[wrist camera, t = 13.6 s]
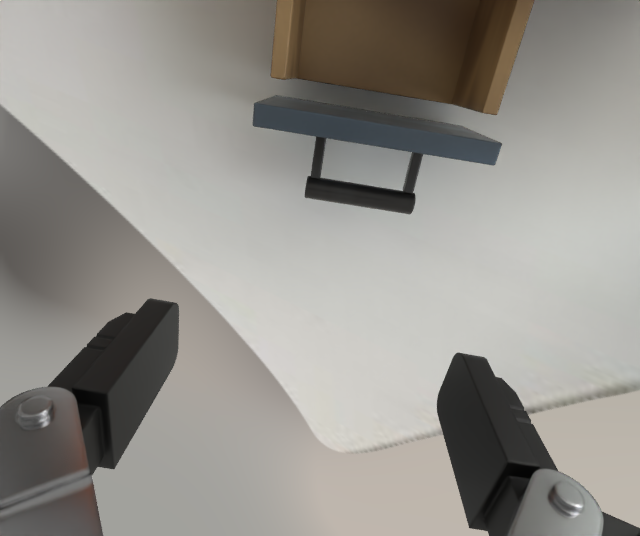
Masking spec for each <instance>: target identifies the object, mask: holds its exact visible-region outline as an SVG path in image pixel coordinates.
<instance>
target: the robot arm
mask: <svg viewBox="0 0 640 536" xmlns="http://www.w3.org/2000/svg"><path fill="white" fill-rule="evenodd" d="M178 334H179V306H178V304H177V303H174V302H167V301H162V300H156V299H148V300H147V301H146V302H145V303H144V304H143V306H142V307H141V308H140V309H139V310H138V311H137V312H136V314H132V313H124V314H122V315H121V316H119V317H117V318H115V319H113V320H111V321H109V322H108V323H107V324H106V325H105V326H104V327H103V328H102V330H100V332H99V333H98V334H97V336H96V337H94V338H93V339H92V340H91V341H90V342H89V343H88V344H87V347H84V349H82V350H81V352H80V353H79V354H78V355H77V356H76V357H75V358H74V359H73V360H72V361H71V362H70V363H69V364H68V365H67V367H66V368H64V370H63V371H62V372H61V373H60V374H59V375H58V376H57V377H56V378H55V379H54V380H53V381H52V382H51V383H50V384H49V385H48V387H41V388H36V389H32V390H29V391H26V392H23V393H21V394H19V395H17V396H15V397H13V398H11V399H10V400H8V401H7V402H6V403H4V404H3V405H2V406H1V407H0V536H103V533H102V527H101V522H100V517H99V511H98V506H97V502H96V496H95V490H94V485H93V480H92V474H93V473H94V471H95V470H96V468H97V467H103V468H110V469H115V467H116V465H117V463H118V462H119V460H120V458H121V456H122V455H123V453H124V451H125V449H126V448H127V446H128V444H129V442H130V441H131V439H132V437H133V436H134V434H135V432H136V430H137V429H138V427H139V425H140V424H141V422H142V420H143V418H144V417H145V415H146V413H147V411H148V410H149V408H150V406H151V405H152V403H153V401H154V399H155V398H156V396H157V394H158V392H159V391H160V389H161V387H162V386H163V384H164V382H165V380H166V379H167V377H168V375H169V373H170V372H171V370H172V368H173V366H174V363H175V360H176V357H177V353H178ZM437 413H438V417H439V421H440V424H441V428H442V431H443V435H444V439H445V442H446V446H447V449H448V453H449V456H450V460H451V464H452V467H453V471H454V474H455V478H456V481H457V485H458V489H459V492H460V496H461V499H462V503H463V506H464V510H465V514H466V518H467V521H468V525H469V528H472V529H479V530H485V531H488V533H489V536H640V528H638V527H636V526H633V525H631V524H629V523H627V522H624V521H622V520H620V519H617V518H615V517H613V516H611V515H608V514H606V513H604V512H602V511H601V509H600V507H599V505H598V503H597V502H596V500H595V499H594V498H593V496H592V495H591V494H590V493H589V492H588V491H587V490H586V489H585V488H584V487H583V486H582V485H581V484H580V483H578V482H577V481H576V480H574V479H573V478H571V477H569V476H567V475H566V474H564V473H561V472H559V471H558V470H557V468H556V466H555V464H554V462H553V460H552V459H551V457H550V455H549V453H548V451H547V449H546V448H545V446H544V444H543V442H542V440H541V438H540V436H539V435H538V433H537V431H536V429H535V427H534V425H533V424H531V420H530V418H529V416H528V414H527V412H526V411H524V407H523V405H522V403H521V401H520V400H519V398H518V396H517V394H516V392H515V391H514V390H513V389H512V388H511V387H510V386H509V385H508V384H507V383H506V382H505V381H504V380H503V379H502V378H498V377H495V375H494V373H493V371H492V369H491V367H490V365H489V363H488V361H487V359H486V358H484V357H480V356H474V355H468V354H463V353H456V354H455V355H454V357H453V359H452V361H451V364H450V366H449V369H448V371H447V374H446V376H445V379H444V381H443V384H442V386H441V389H440V391H439V394H438V399H437Z"/></svg>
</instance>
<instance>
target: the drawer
mask: <svg viewBox="0 0 640 536" xmlns="http://www.w3.org/2000/svg"><path fill="white" fill-rule="evenodd" d="M533 3H534V0H277V5H276V17H275V29H274V41H273V53H272V64H271V77H272V78H276V79H282V80H286V79H294V78H298V79H304V80H310V81H316V82H322V83H328V84H334V85H340V86H346V87H352V88H358V89H364V90H370V91H376V92H382V93H388V94H394V95H400V96H406V97H412V98H418V99H424V100H430V101H436V102H442V103H448V104H453V105H456V106H460V107H464V108H467V109H471V110H474V111H478V112H481V113H486V114H492V115H497V113H498V110H499V107H500V104H501V101H502V98H503V95H504V92H505V89H506V86H507V82H508V79H509V76H510V73H511V70H512V67H513V64H514V61H515V58H516V55H517V52H518V49H519V46H520V43H521V40H522V37H523V34H524V31H525V27H526V24H527V21H528V18H529V15H530V12H531V9H532V6H533ZM253 126H255V127H261V128H267V129H273V130H280V131H286V132H292V133H298V134H304V135H310V136H316V143H315V150H314V157H313V164H312V171H311V176H308V178H307V183H306V190H305V198H310V199H317V200H323V201H329V202H335V203H342V204H348V205H354V206H361V207H367V208H373V209H379V210H386V211H392V212H398V213H405V214H411V213H412V211H413V209H414V205H415V193H413V191H414V187H415V183H416V179H417V176H418V172H419V168H420V164H421V160H422V156H423V154H427V155H433V156H439V157H445V158H451V159H457V160H463V161H469V162H476V163H482V164H488V165H495V163H496V160H497V157H498V154H499V152H500V149H501V146H502V143H500V142H497V141H495V140H493V139H491V138H488V137H486V136H484V135H481V134H479V133H477V132H474V131H472V130H470V129H468V128H465V127H463V126H459V125H453V124H447V123H441V122H435V121H429V120H423V119H417V118H411V117H405V116H399V115H393V114H387V113H380V112H374V111H368V110H362V109H356V108H350V107H344V106H338V105H332V104H326V103H320V102H314V101H308V100H302V99H296V98H290V97H284V96H278V95H276V96H273V97H270V98H267V99H264V100H262V101H259V102H256V103H254V114H253ZM326 138H329V139H335V140H341V141H347V142H353V143H359V144H365V145H371V146H378V147H384V148H390V149H396V150H402V151H408V152H412V154H411V158H410V162H409V166H408V170H407V174H406V178H405V183H404V187H403V191H399V190H393V189H387V188H381V187H374V186H368V185H362V184H356V183H350V182H343V181H337V180H331V179H325V178H320V176H321V169H322V163H323V156H324V149H325V143H326Z"/></svg>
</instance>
